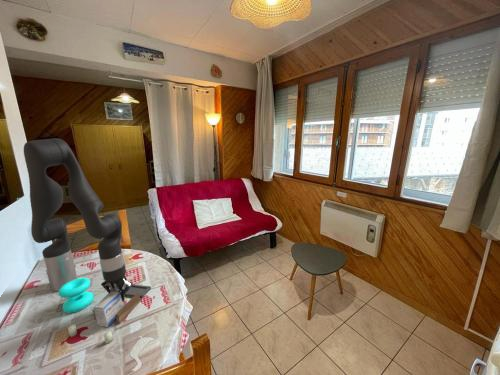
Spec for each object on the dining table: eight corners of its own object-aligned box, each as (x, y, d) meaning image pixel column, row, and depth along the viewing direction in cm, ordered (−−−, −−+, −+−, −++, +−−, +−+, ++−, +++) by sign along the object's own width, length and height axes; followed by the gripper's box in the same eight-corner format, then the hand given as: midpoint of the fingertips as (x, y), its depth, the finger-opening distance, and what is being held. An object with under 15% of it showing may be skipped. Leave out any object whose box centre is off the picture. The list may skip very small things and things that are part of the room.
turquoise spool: (52, 296, 76) (64, 279, 85) (58, 317, 78) (70, 299, 87) (84, 288, 79) (93, 274, 88) (89, 310, 81) (97, 293, 90)
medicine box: (108, 327, 73) (103, 308, 71) (97, 326, 74) (92, 307, 72) (124, 309, 81) (120, 291, 79) (114, 308, 82) (110, 290, 79)
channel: (94, 319, 77) (92, 310, 76) (117, 297, 87) (116, 290, 87) (120, 323, 75) (118, 314, 74) (140, 301, 85) (139, 293, 84)
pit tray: (122, 295, 89) (121, 293, 88) (132, 286, 95) (131, 284, 94) (141, 298, 87) (141, 296, 87) (150, 288, 93) (150, 286, 92)
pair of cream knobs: (68, 336, 70) (66, 329, 70) (74, 331, 72) (72, 324, 72) (109, 344, 67) (107, 337, 66) (114, 338, 69) (112, 331, 68)
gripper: (89, 269, 75) (98, 307, 79) (120, 272, 73) (127, 311, 77) (106, 258, 82) (114, 293, 86) (135, 260, 80) (141, 297, 84)
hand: (120, 302), depth 82 cm, fingers closed
